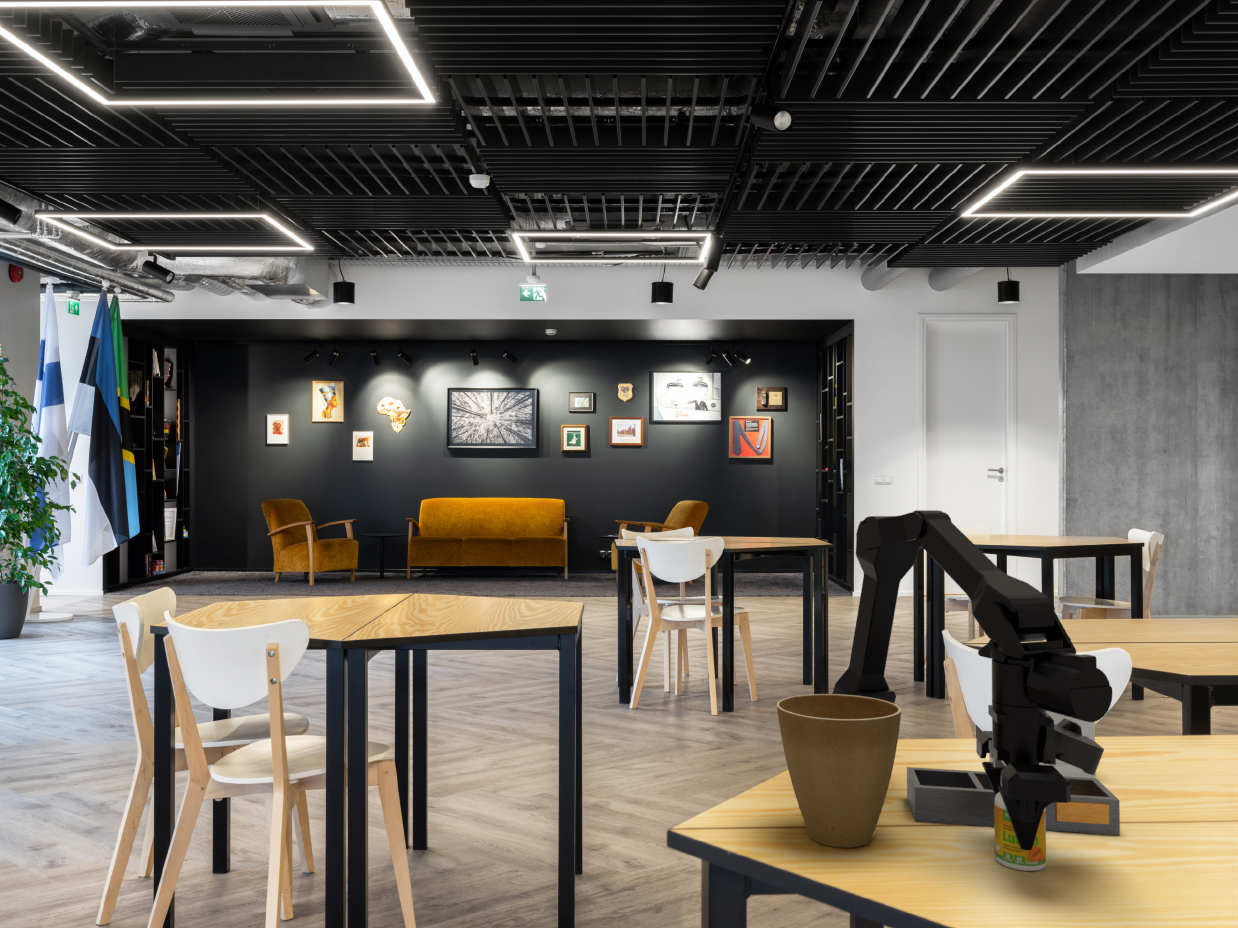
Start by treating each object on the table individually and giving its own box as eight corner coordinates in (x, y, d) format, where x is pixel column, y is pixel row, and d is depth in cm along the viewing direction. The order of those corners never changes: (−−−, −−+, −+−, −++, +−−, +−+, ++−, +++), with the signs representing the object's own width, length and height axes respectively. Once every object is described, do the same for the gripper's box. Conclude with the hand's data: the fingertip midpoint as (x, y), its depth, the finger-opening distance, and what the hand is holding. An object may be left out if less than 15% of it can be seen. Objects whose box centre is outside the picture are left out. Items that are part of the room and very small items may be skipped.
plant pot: (914, 829, 115) (914, 700, 116) (883, 870, 102) (883, 725, 103) (800, 807, 123) (800, 687, 123) (758, 843, 110) (758, 709, 110)
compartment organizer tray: (915, 821, 118) (915, 787, 118) (906, 798, 127) (906, 766, 127) (1120, 836, 113) (1120, 800, 113) (1096, 810, 122) (1096, 778, 122)
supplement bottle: (997, 868, 103) (996, 780, 103) (992, 850, 108) (991, 767, 108) (1049, 874, 101) (1048, 785, 102) (1042, 856, 107) (1041, 771, 107)
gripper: (1123, 725, 95) (1125, 879, 94) (1070, 688, 113) (1072, 817, 112) (1008, 719, 97) (1009, 870, 96) (975, 684, 115) (976, 810, 115)
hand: (1020, 839), depth 105 cm, fingers closed on supplement bottle, 5 cm apart
